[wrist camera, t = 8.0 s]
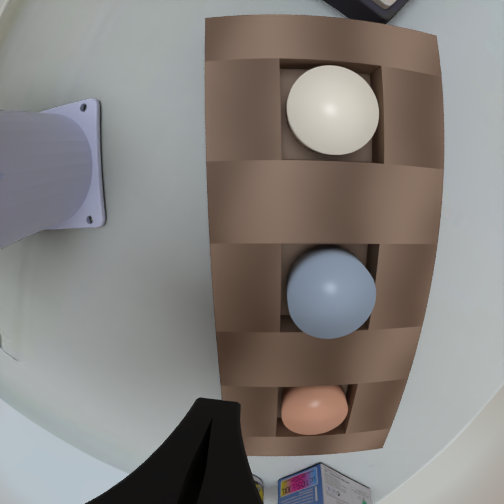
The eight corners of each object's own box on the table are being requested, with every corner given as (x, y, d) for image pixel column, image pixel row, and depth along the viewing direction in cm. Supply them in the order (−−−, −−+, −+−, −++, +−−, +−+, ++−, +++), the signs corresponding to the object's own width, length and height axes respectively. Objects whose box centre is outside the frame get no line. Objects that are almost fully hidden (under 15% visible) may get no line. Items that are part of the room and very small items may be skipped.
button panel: (231, 431, 23) (228, 454, 21) (214, 34, 15) (205, 18, 12) (375, 425, 23) (382, 447, 20) (417, 47, 14) (436, 35, 12)
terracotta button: (280, 416, 21) (280, 435, 20) (282, 372, 20) (282, 391, 18) (338, 414, 21) (342, 432, 19) (347, 370, 20) (352, 388, 18)
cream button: (285, 153, 16) (288, 153, 14) (284, 73, 15) (286, 63, 13) (367, 156, 16) (379, 157, 14) (365, 78, 15) (377, 69, 13)
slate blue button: (285, 320, 18) (286, 339, 16) (286, 244, 16) (288, 257, 15) (360, 318, 18) (369, 336, 16) (369, 245, 16) (380, 256, 14)
